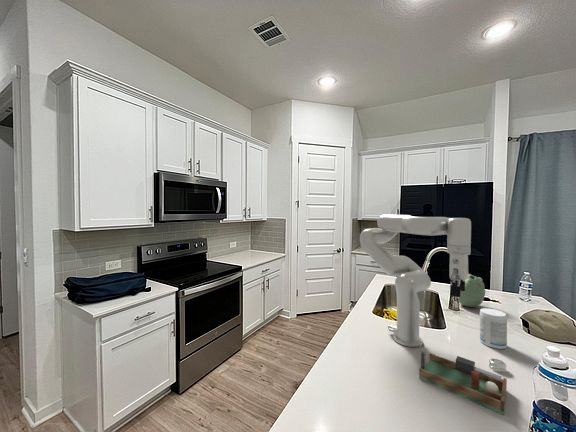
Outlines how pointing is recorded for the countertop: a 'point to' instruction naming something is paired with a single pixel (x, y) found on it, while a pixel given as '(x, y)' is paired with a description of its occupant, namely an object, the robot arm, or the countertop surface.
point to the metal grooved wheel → (497, 365)
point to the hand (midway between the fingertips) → (457, 293)
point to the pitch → (462, 383)
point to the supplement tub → (493, 328)
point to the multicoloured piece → (473, 371)
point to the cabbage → (472, 292)
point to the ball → (491, 386)
